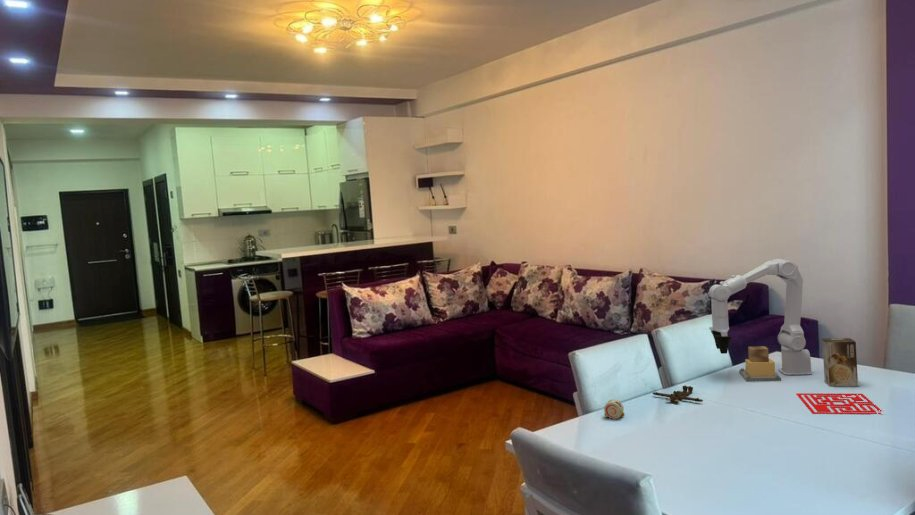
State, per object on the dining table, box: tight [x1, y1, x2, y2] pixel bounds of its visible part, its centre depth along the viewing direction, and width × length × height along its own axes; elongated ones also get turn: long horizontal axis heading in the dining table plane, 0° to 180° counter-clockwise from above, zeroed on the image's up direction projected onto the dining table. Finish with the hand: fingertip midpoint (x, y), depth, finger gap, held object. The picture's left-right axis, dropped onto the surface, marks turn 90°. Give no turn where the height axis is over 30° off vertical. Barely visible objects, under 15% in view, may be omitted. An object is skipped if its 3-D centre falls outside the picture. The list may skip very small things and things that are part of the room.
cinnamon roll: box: [603, 398, 625, 420], centre depth 204 cm, size 4×6×6 cm
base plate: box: [738, 367, 782, 383], centre depth 235 cm, size 12×12×2 cm
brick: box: [744, 358, 776, 376], centre depth 234 cm, size 9×6×5 cm, turn 77°
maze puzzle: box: [795, 392, 883, 415], centre depth 200 cm, size 20×20×1 cm
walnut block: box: [747, 345, 770, 363], centre depth 234 cm, size 6×4×5 cm
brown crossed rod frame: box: [652, 384, 704, 404], centre depth 218 cm, size 18×4×14 cm
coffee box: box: [821, 337, 859, 388], centre depth 218 cm, size 9×6×16 cm
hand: (721, 350), depth 237 cm, fingers open, 7 cm apart
